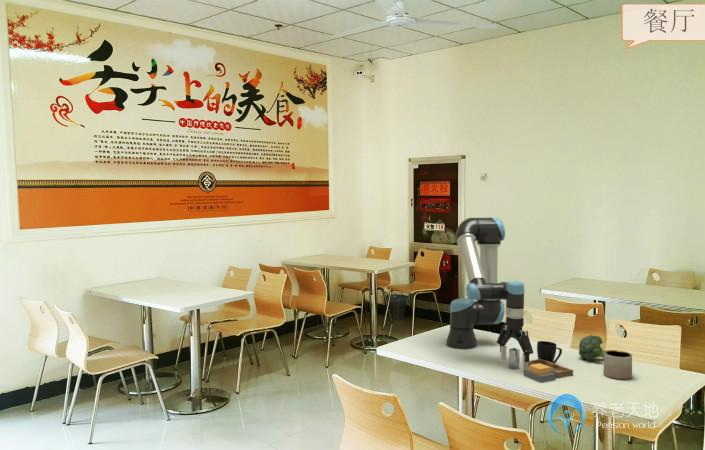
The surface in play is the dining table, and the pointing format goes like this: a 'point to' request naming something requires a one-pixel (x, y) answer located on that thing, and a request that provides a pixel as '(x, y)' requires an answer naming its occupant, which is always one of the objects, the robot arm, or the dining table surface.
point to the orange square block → (539, 369)
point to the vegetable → (591, 347)
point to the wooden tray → (554, 368)
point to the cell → (514, 358)
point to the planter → (617, 364)
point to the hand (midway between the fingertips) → (514, 364)
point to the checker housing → (540, 376)
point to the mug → (547, 351)
